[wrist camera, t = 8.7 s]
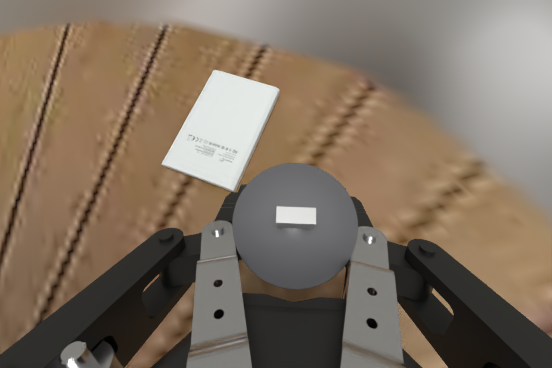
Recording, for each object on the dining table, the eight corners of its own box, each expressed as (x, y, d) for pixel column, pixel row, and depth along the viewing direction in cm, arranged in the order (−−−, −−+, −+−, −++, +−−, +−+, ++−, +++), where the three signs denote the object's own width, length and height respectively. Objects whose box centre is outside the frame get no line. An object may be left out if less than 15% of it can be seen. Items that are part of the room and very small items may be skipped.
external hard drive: (280, 97, 27) (236, 194, 24) (216, 79, 28) (166, 168, 25) (279, 87, 25) (232, 190, 22) (212, 68, 27) (159, 162, 23)
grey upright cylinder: (256, 270, 16) (215, 290, 6) (261, 208, 18) (231, 147, 8) (320, 274, 16) (376, 299, 6) (319, 210, 17) (364, 150, 8)
